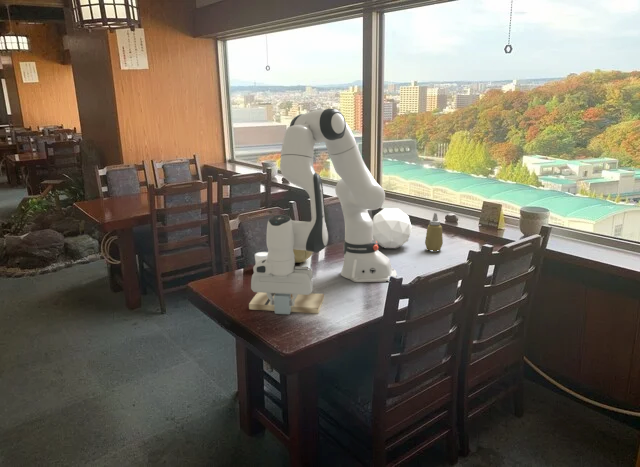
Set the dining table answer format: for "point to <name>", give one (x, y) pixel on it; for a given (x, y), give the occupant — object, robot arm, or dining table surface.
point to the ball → (391, 228)
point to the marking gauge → (282, 303)
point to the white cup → (260, 256)
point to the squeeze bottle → (434, 234)
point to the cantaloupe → (301, 255)
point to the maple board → (302, 304)
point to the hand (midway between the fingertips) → (282, 304)
